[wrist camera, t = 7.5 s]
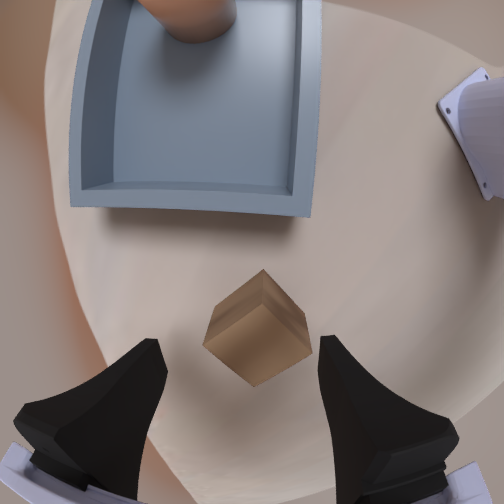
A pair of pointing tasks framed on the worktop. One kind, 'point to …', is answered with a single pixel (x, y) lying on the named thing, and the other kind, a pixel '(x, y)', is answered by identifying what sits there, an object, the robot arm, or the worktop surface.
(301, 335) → the walnut block
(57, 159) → the worktop surface
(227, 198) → the slate tote
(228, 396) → the worktop surface
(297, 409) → the worktop surface
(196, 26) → the peach rounded cylinder
